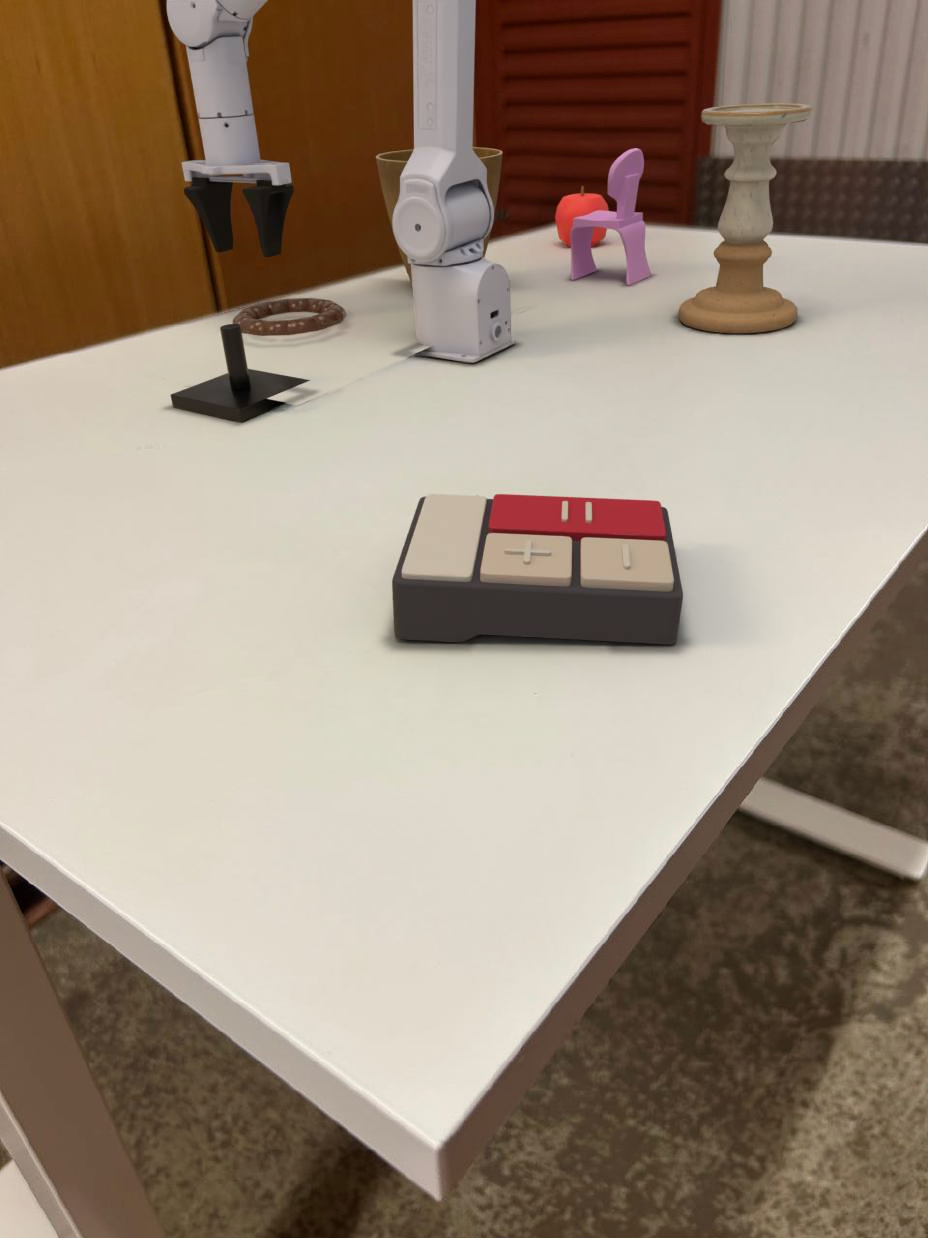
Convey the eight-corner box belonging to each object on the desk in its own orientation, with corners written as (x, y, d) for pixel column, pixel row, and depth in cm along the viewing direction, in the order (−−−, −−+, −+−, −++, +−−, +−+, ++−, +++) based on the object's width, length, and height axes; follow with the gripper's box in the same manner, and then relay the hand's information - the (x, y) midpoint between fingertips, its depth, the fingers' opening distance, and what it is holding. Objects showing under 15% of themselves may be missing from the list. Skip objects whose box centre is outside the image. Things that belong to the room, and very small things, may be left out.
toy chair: (595, 268, 128) (597, 143, 120) (655, 273, 124) (661, 144, 116) (563, 281, 123) (564, 151, 115) (625, 287, 118) (629, 152, 110)
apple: (552, 250, 140) (552, 191, 136) (557, 240, 147) (557, 183, 143) (607, 249, 139) (609, 189, 134) (609, 238, 145) (611, 181, 141)
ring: (368, 323, 110) (366, 301, 108) (293, 351, 101) (289, 328, 100) (289, 312, 116) (286, 292, 115) (212, 338, 108) (208, 316, 106)
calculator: (686, 584, 48) (389, 569, 49) (676, 656, 50) (392, 640, 51) (668, 493, 57) (419, 483, 58) (661, 557, 59) (421, 546, 61)
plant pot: (419, 313, 112) (408, 163, 104) (370, 290, 124) (356, 154, 115) (528, 294, 118) (526, 150, 109) (471, 274, 129) (465, 142, 121)
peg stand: (312, 392, 89) (302, 319, 86) (241, 422, 83) (227, 345, 79) (244, 379, 94) (232, 309, 90) (172, 407, 88) (156, 333, 84)
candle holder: (667, 331, 100) (680, 114, 90) (689, 302, 110) (703, 104, 99) (789, 337, 96) (818, 111, 86) (801, 307, 106) (828, 100, 95)
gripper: (150, 119, 101) (177, 255, 108) (247, 119, 93) (269, 264, 101) (201, 113, 106) (223, 243, 113) (297, 112, 98) (314, 252, 105)
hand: (248, 252), depth 107 cm, fingers open, 7 cm apart
